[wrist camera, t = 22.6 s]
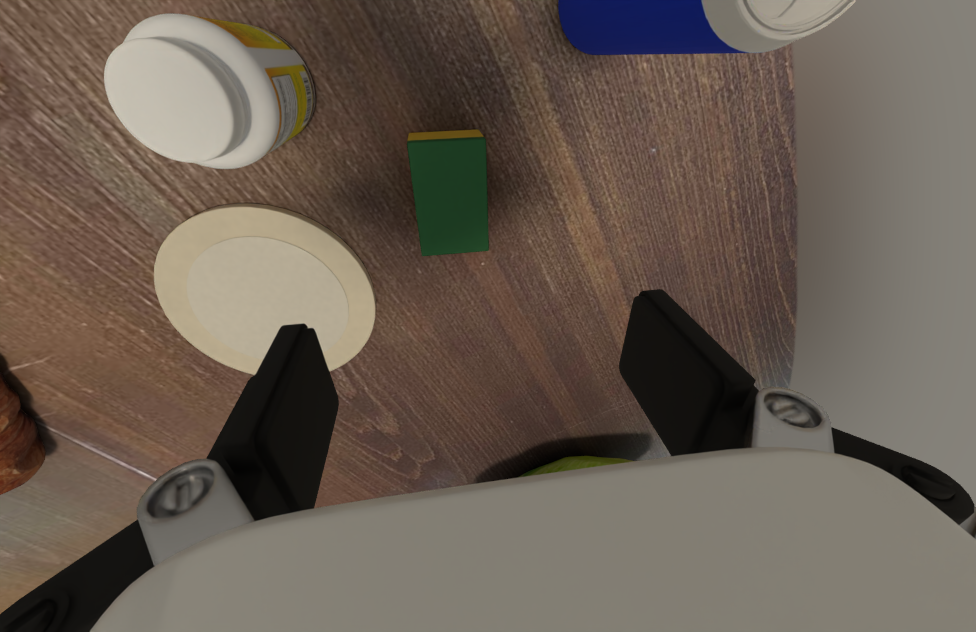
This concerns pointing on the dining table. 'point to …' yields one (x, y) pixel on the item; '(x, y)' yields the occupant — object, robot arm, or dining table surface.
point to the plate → (262, 284)
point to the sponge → (450, 190)
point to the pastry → (17, 441)
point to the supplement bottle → (208, 89)
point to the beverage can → (692, 24)
